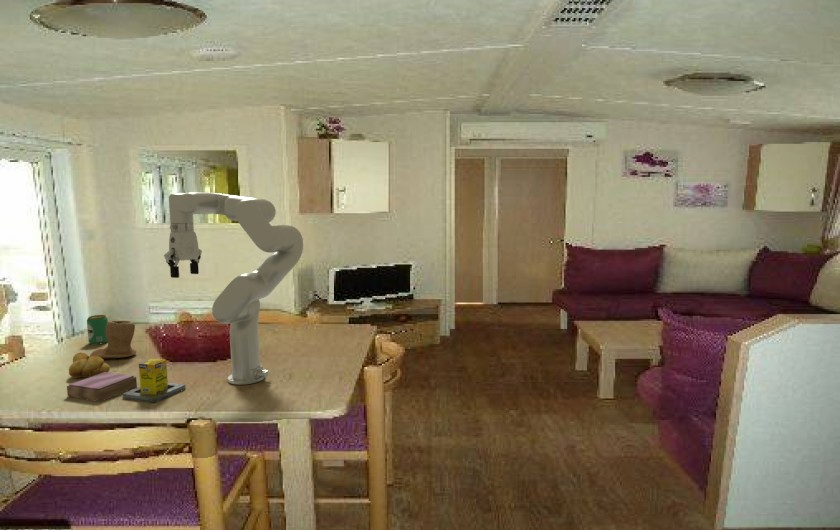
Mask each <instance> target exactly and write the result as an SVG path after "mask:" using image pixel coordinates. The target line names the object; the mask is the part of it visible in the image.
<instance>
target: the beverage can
mask: <svg viewBox="0 0 840 530" xmlns="http://www.w3.org/2000/svg"><path fill="white" fill-rule="evenodd" d="M108 322H109V319H108V317H107V316H106V314H95V315H90V316H88V317H87V319H86V326H87V327H86V328H87V338H88V343H89V344H90V345H92V344H97V345H101V344H100V343H104V344H106V343H105V342H107V337H106V324H107V323H108ZM107 343H108V342H107Z"/></svg>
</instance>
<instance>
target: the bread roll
mask: <svg viewBox="0 0 840 530" xmlns="http://www.w3.org/2000/svg"><path fill="white" fill-rule="evenodd" d="M110 370H111V367H110V364H108V363H106V362H105V360H104V358H101V357H98V356H91V357H90V355H88V354H87V353H84V352H82V351H80V352H76V353H75V354H74V356H73V357H72V363H71V365H70V366H69V368H68V374H69V377H72V378H74V379H75V378H76V379H77V378H89V377H92V376H95V375H98V374H101V373H104V372H110Z"/></svg>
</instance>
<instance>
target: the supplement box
mask: <svg viewBox="0 0 840 530" xmlns="http://www.w3.org/2000/svg"><path fill="white" fill-rule="evenodd" d="M138 372H139V385H140V386H139V387H140V389H141V394H148V395H156V394H159V393H161V392H163V391H166V390H168V367H167V359H165V358H164V359H162V358H150V359H148V360H146V361H143V362H140V363H138Z"/></svg>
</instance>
